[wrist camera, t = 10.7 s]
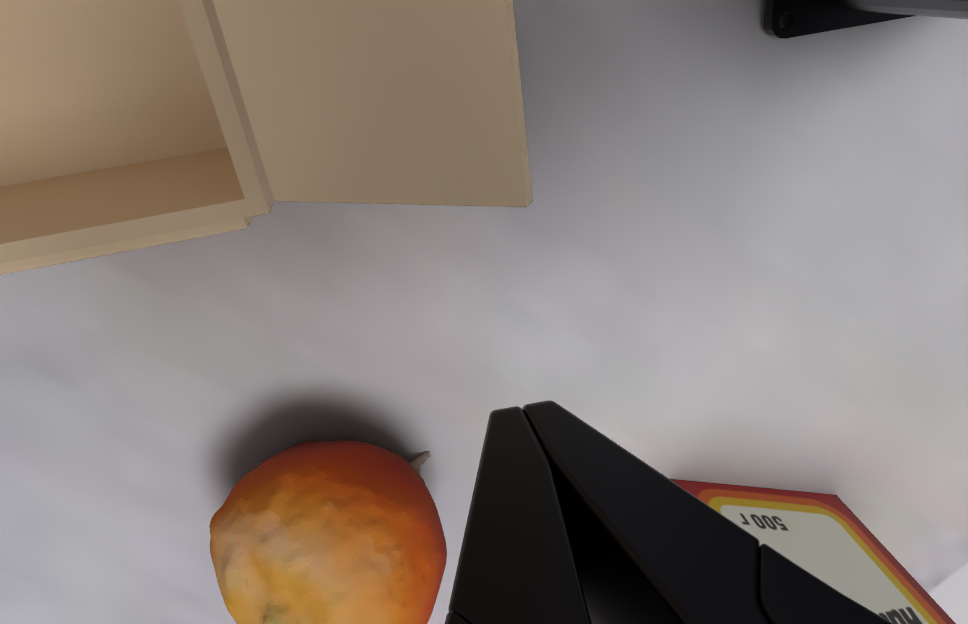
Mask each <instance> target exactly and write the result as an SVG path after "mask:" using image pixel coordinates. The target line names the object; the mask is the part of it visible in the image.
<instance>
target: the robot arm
mask: <svg viewBox="0 0 968 624" xmlns="http://www.w3.org/2000/svg"><path fill="white" fill-rule="evenodd" d="M783 13H786V14H787V21H786V23H785V25H784V26H783V27H782V28H781V27H780V26H779V20H780V17H781V16H782V15H783ZM917 15H918V16H932V17H945V18H959V19H968V0H766V3H765V16H764V27H765V30H766V32H767V34H768V35H770V36H771V37H775V38H791V37H797V36H802V35H808V34H814V33H820V32H825V31H831V30H837V29H843V28H848V27H854V26H860V25H866V24H871V23H877V22H883V21H889V20H894V19H900V18H906V17H911V16H917ZM445 624H893V623H891V622H890V621H888V620H886V619H885V618H883V617H881V616H880V615H878V614H876V613H874V612H873V611H871V610H869V609H868V608H866V607H864V606H863V605H861V604H859V603H857V602H856V601H854V600H852V599H851V598H849V597H847V596H845V595H844V594H842V593H841V592H839V591H837V590H836V589H834V588H833V587H831V586H830V585H828V584H826V583H825V582H823V581H822V580H820V579H819V578H817V577H816V576H814V575H812V574H811V573H809V572H808V571H806V570H805V569H803V568H802V567H800V566H798V565H797V564H795V563H794V562H792V561H791V560H789V559H788V558H786V557H785V556H783V555H782V554H780V553H779V552H777V551H776V550H774V549H773V548H771V547H770V546H768V545H767V544H761V545H760V541H759V539H758V538H756V537H755V536H753V535H752V534H750V533H749V532H747V531H746V530H744V529H743V528H741V527H740V526H738V525H737V524H735V523H734V522H732V521H731V520H729V519H728V518H726V517H725V516H723V515H722V514H720V513H719V512H718V511H716V510H715V509H713V508H712V507H710V506H709V505H707V504H706V503H704V502H703V501H701V500H700V499H698V498H697V497H695V496H694V495H692V494H691V493H689V492H688V491H686V490H685V489H683V488H682V487H680V486H679V485H677V484H676V483H674V482H673V481H671V480H670V479H668V478H667V477H665V476H664V475H663V474H661V473H660V472H658V471H657V470H655V469H654V468H652V467H651V466H649V465H648V464H646V463H645V462H643V461H642V460H640V459H639V458H637V457H636V456H634V455H633V454H631V453H630V452H628V451H627V450H625V449H624V448H622V447H621V446H619V445H618V444H616V443H615V442H613V441H612V440H610V439H609V438H608V437H606V436H605V435H603V434H602V433H600V432H599V431H597V430H596V429H594V428H593V427H591V426H590V425H588V424H587V423H585V422H584V421H582V420H581V419H579V418H578V417H576V416H575V415H573V414H572V413H570V412H569V411H567V410H566V409H564V408H563V407H561V406H560V405H558V404H557V403H555V402H553V401H543V402H537V403H532V404H527V405H525V406H524V407H523V408H522V409H521V408H520V407H517V406H515V407H509V408H504V409H498V410H494V411H492V412H491V414H490V416H489V421H488V425H487V430H486V435H485V439H484V444H483V449H482V453H481V458H480V463H479V468H478V472H477V477H476V482H475V486H474V491H473V496H472V500H471V505H470V510H469V515H468V519H467V524H466V529H465V533H464V538H463V543H462V547H461V552H460V557H459V562H458V566H457V571H456V576H455V580H454V585H453V590H452V594H451V599H450V604H449V613H448V614H447V616H446V621H445Z"/></svg>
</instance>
